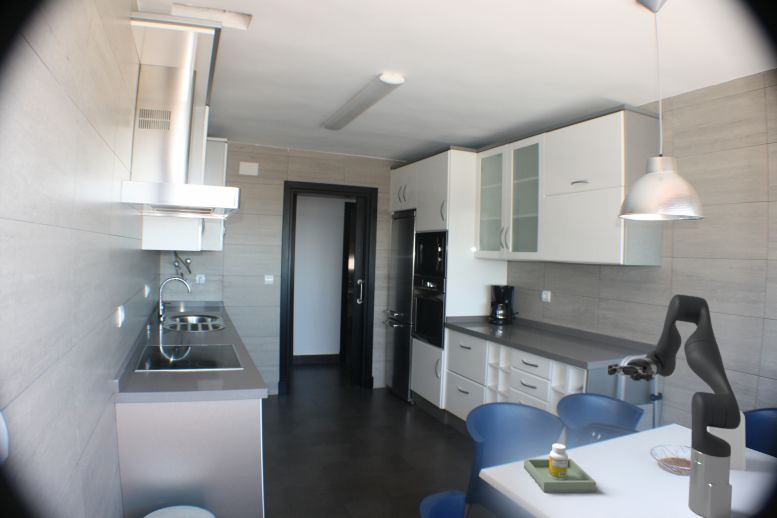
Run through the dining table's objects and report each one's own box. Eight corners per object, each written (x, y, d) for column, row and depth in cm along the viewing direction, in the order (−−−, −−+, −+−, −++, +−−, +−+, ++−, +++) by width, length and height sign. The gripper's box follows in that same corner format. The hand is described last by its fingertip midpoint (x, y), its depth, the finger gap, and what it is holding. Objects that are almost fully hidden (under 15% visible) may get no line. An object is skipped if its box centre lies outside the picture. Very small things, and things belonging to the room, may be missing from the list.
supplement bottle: (552, 470, 154) (553, 441, 153) (569, 476, 150) (570, 445, 150) (546, 476, 149) (547, 446, 149) (563, 482, 146) (565, 450, 146)
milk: (745, 470, 161) (749, 394, 160) (706, 465, 164) (710, 390, 163) (730, 456, 172) (733, 385, 172) (694, 451, 175) (697, 381, 175)
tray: (595, 492, 142) (595, 482, 142) (543, 492, 141) (544, 482, 141) (570, 467, 158) (570, 458, 158) (523, 467, 157) (524, 458, 157)
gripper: (622, 355, 180) (601, 360, 170) (663, 362, 169) (643, 368, 159) (621, 374, 180) (601, 381, 170) (662, 383, 169) (642, 391, 159)
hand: (621, 375), depth 164 cm, fingers open, 8 cm apart
